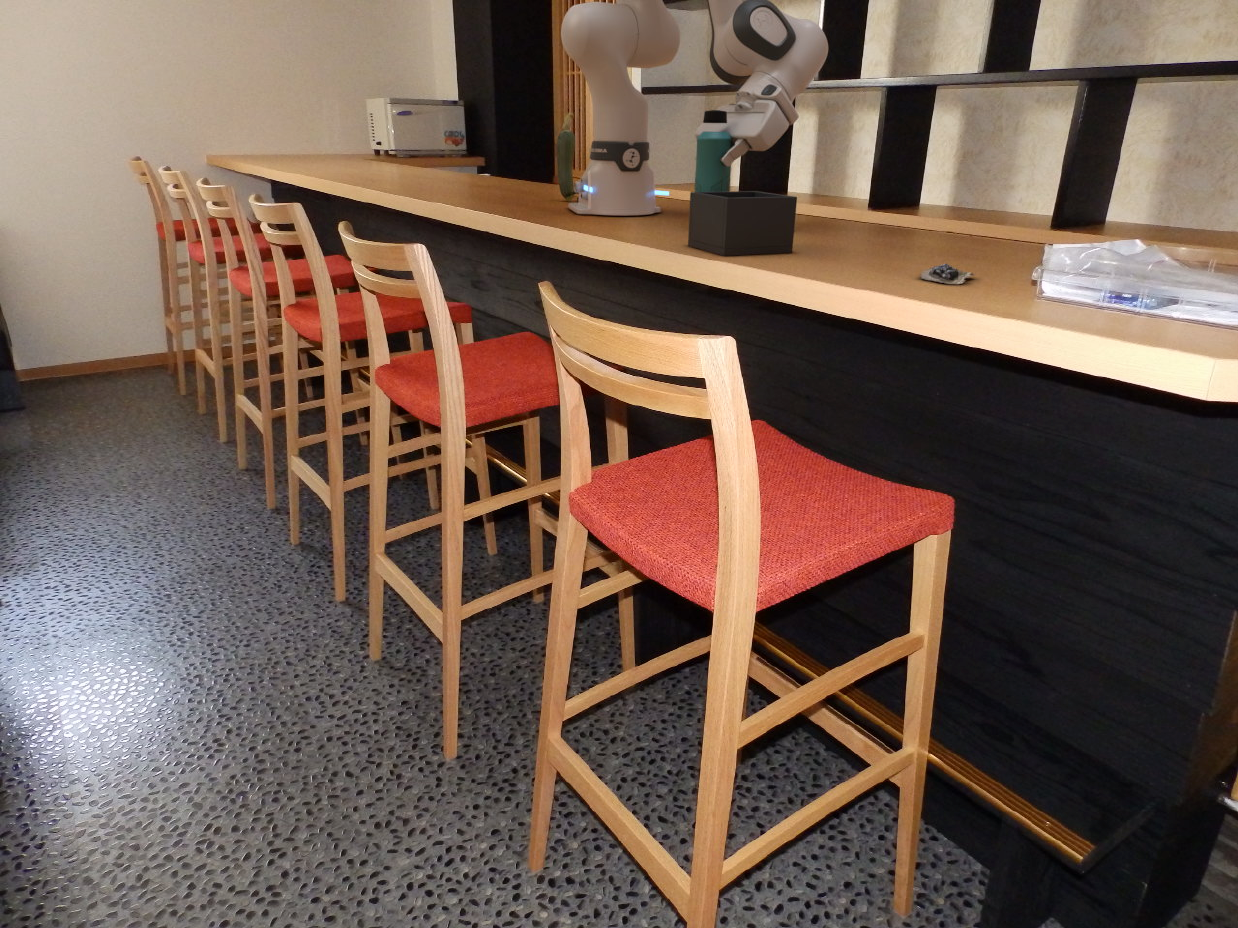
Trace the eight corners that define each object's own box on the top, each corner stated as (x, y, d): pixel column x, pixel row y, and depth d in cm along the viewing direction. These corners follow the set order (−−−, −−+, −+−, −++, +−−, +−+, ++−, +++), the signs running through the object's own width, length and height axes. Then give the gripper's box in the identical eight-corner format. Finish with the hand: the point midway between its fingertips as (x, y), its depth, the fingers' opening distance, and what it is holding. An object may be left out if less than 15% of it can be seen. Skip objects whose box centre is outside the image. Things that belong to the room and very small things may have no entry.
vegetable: (555, 202, 202) (554, 111, 194) (559, 200, 206) (558, 112, 198) (573, 202, 201) (573, 112, 194) (577, 201, 205) (577, 112, 198)
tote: (687, 245, 131) (690, 192, 128) (752, 243, 135) (755, 191, 132) (724, 256, 121) (727, 198, 118) (792, 252, 125) (797, 197, 122)
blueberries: (971, 275, 108) (974, 260, 107) (982, 286, 101) (984, 270, 100) (916, 273, 109) (918, 258, 109) (923, 283, 102) (925, 267, 101)
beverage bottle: (726, 232, 149) (734, 110, 142) (689, 230, 150) (694, 109, 143) (729, 228, 155) (737, 110, 148) (694, 226, 156) (699, 110, 149)
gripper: (717, 91, 155) (670, 147, 155) (786, 88, 139) (733, 151, 138) (735, 117, 159) (689, 173, 158) (805, 117, 142) (754, 179, 142)
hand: (710, 162), depth 148 cm, fingers closed on beverage bottle, 6 cm apart
